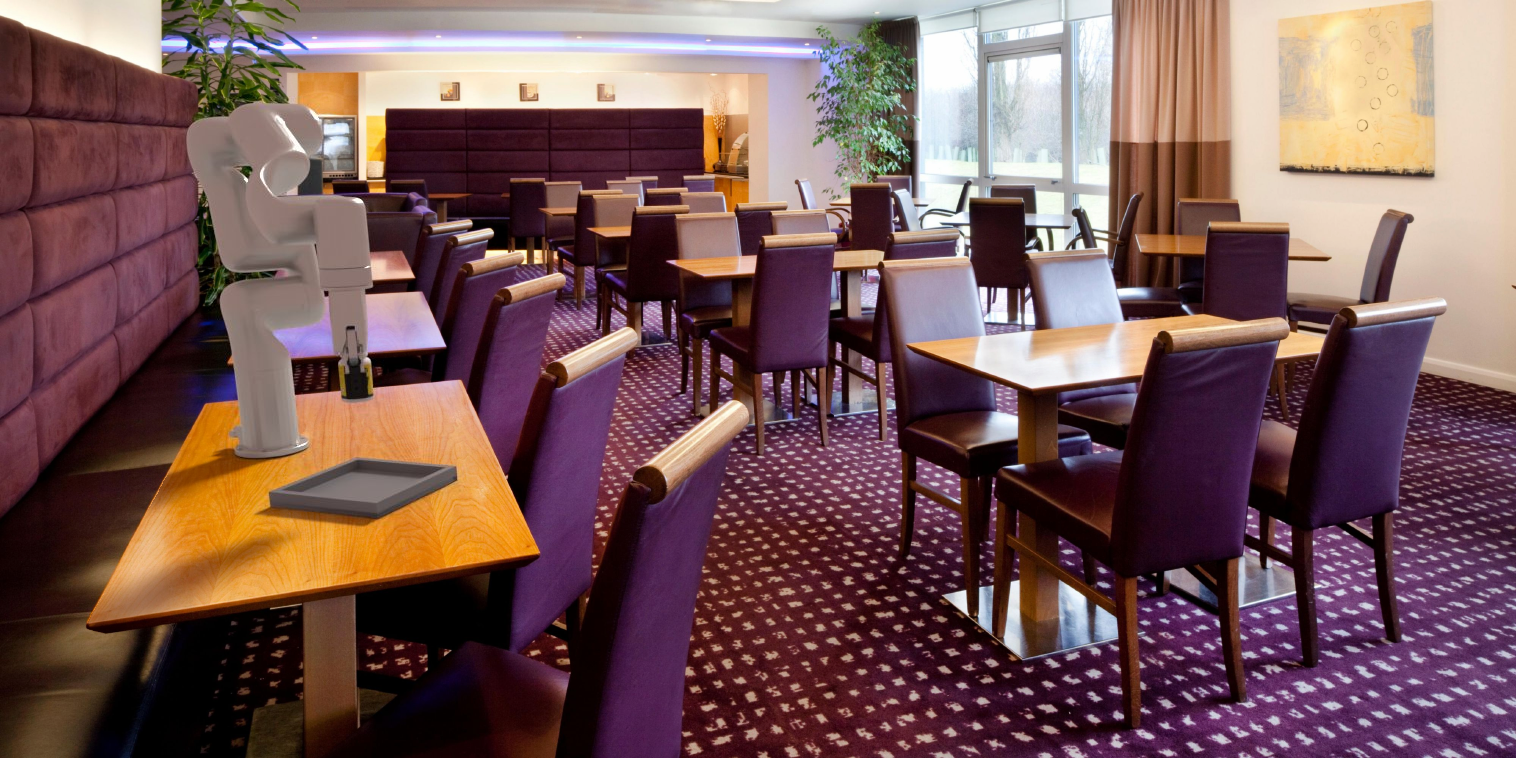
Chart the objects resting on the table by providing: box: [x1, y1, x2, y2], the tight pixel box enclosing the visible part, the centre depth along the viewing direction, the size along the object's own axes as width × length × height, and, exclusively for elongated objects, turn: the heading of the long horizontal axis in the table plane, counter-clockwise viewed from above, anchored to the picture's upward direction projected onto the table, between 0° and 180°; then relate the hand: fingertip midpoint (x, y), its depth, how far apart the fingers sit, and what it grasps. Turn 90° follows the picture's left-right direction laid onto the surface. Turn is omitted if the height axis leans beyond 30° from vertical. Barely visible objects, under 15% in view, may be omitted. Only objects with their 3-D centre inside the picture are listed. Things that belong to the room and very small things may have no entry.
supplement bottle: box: [337, 347, 375, 404], centre depth 165 cm, size 5×5×8 cm
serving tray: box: [268, 456, 458, 519], centre depth 168 cm, size 20×20×2 cm
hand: (357, 393), depth 165 cm, fingers closed on supplement bottle, 4 cm apart
